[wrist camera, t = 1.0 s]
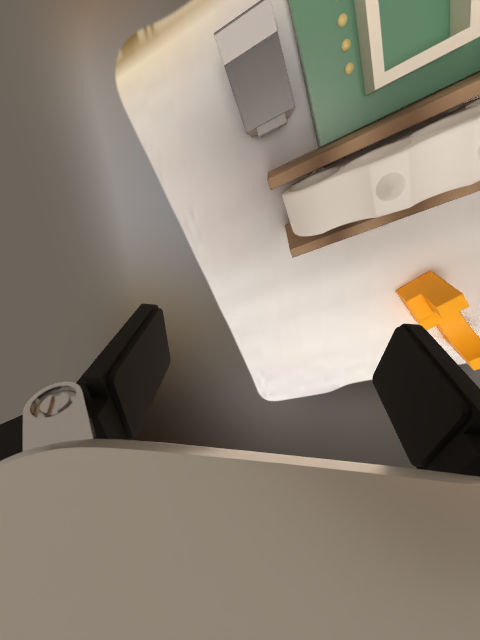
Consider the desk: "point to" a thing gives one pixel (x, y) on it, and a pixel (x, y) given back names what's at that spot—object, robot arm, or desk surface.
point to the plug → (256, 69)
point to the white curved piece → (390, 173)
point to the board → (380, 55)
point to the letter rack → (364, 138)
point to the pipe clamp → (442, 313)
